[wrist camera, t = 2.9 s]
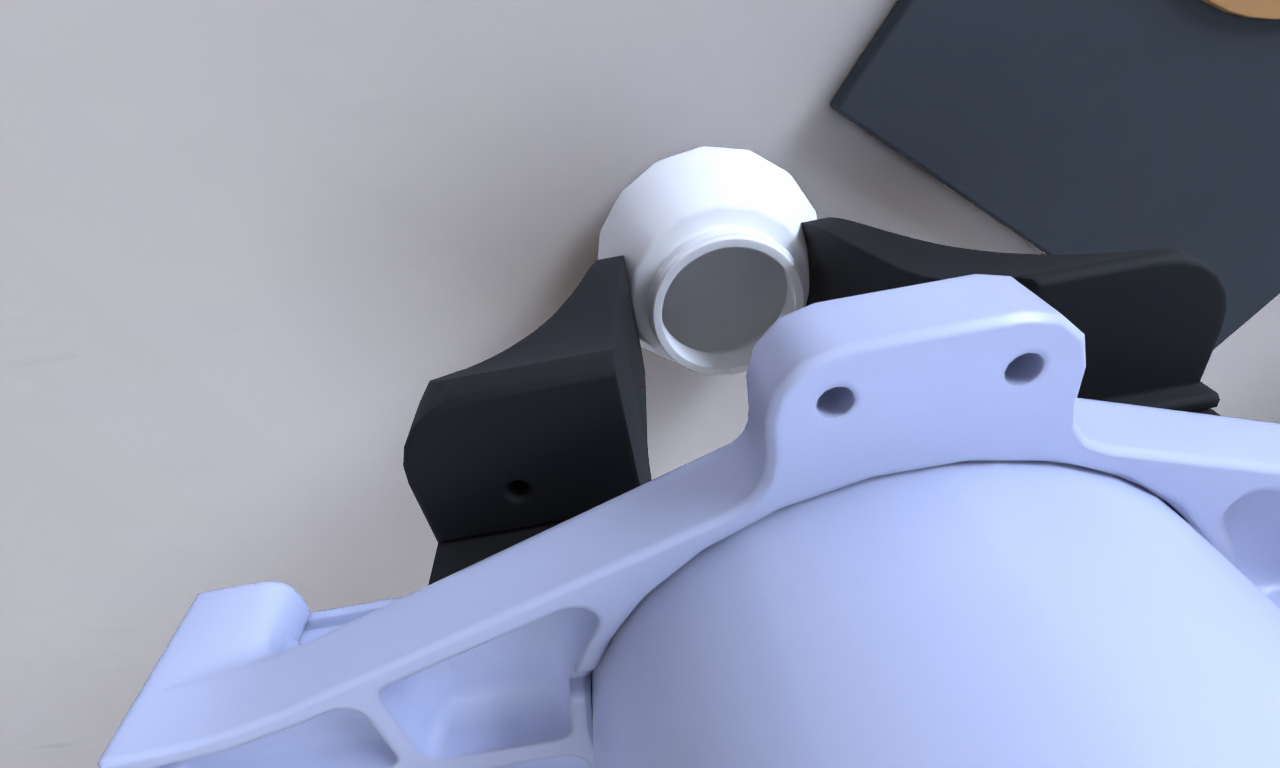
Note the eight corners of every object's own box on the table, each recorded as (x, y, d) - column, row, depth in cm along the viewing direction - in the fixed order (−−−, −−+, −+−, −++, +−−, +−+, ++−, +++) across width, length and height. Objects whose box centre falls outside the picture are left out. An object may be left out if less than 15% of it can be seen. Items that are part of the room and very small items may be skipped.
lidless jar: (852, 207, 15) (663, 99, 13) (907, 257, 12) (683, 131, 11) (734, 372, 17) (562, 297, 15) (760, 442, 15) (559, 363, 13)
